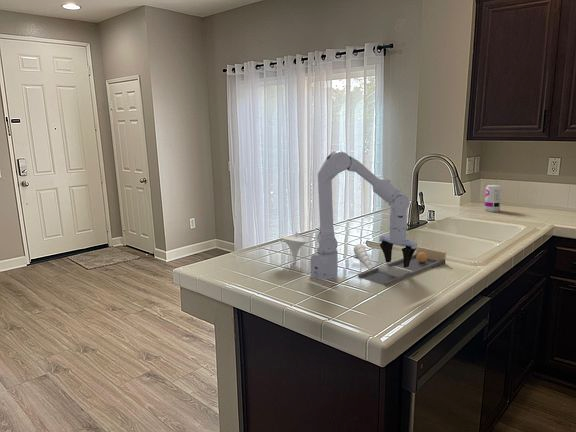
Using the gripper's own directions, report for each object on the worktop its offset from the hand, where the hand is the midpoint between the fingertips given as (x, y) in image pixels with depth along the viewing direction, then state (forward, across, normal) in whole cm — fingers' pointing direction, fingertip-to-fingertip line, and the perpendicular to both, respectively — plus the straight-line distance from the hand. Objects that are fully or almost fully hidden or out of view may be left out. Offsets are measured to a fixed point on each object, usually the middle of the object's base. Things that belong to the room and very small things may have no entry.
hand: (397, 264), depth 156 cm
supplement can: (+3, +27, -130) cm, 133 cm away
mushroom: (+3, +36, +17) cm, 40 cm away
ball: (+1, 0, -13) cm, 13 cm away
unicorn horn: (+4, +16, -2) cm, 17 cm away
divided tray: (+7, 0, -4) cm, 8 cm away
